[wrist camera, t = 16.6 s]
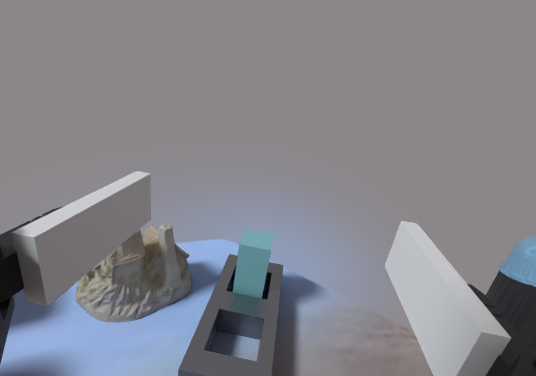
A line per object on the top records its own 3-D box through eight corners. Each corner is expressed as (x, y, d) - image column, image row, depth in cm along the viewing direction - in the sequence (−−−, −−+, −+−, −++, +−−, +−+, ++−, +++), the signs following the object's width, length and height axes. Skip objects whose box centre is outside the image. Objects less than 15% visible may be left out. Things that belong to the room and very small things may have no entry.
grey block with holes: (227, 272, 51) (229, 254, 50) (279, 282, 51) (283, 265, 49) (177, 394, 31) (178, 369, 29) (264, 414, 30) (269, 390, 29)
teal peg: (262, 294, 47) (273, 234, 43) (258, 314, 43) (270, 250, 39) (236, 288, 48) (245, 228, 43) (230, 308, 43) (239, 243, 39)
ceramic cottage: (202, 295, 45) (202, 212, 40) (82, 342, 35) (63, 240, 30) (169, 250, 56) (167, 181, 51) (72, 276, 46) (58, 193, 41)
